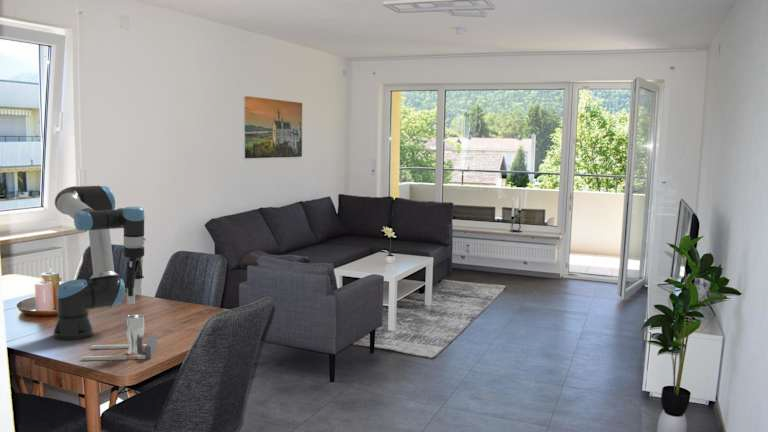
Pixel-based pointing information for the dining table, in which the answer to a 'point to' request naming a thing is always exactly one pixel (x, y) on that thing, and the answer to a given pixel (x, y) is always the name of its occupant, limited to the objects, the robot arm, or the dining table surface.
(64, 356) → the dining table surface
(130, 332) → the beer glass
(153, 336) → the guide track
